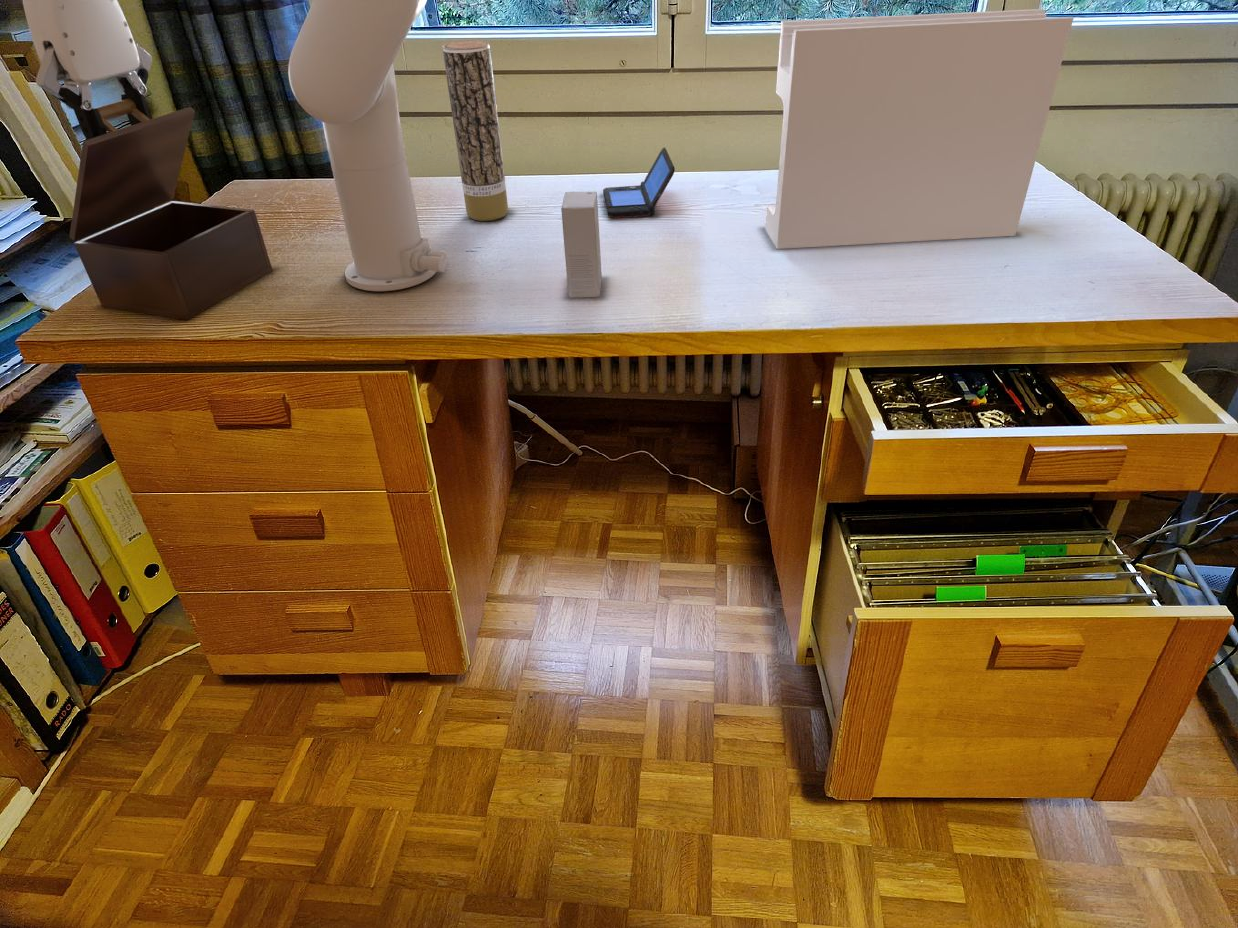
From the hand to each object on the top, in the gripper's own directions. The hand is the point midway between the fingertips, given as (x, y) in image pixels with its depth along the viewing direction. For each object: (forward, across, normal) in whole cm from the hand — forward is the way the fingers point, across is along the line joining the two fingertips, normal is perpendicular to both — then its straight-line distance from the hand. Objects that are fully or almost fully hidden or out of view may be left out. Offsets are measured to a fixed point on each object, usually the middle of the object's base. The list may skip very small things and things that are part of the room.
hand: (121, 134), depth 101 cm
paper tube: (+20, -37, +29) cm, 51 cm away
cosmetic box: (+20, -16, +55) cm, 61 cm away
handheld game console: (+20, -48, +51) cm, 73 cm away
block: (+19, -47, +91) cm, 104 cm away
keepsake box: (+20, 0, +2) cm, 20 cm away
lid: (+5, 0, 0) cm, 5 cm away
